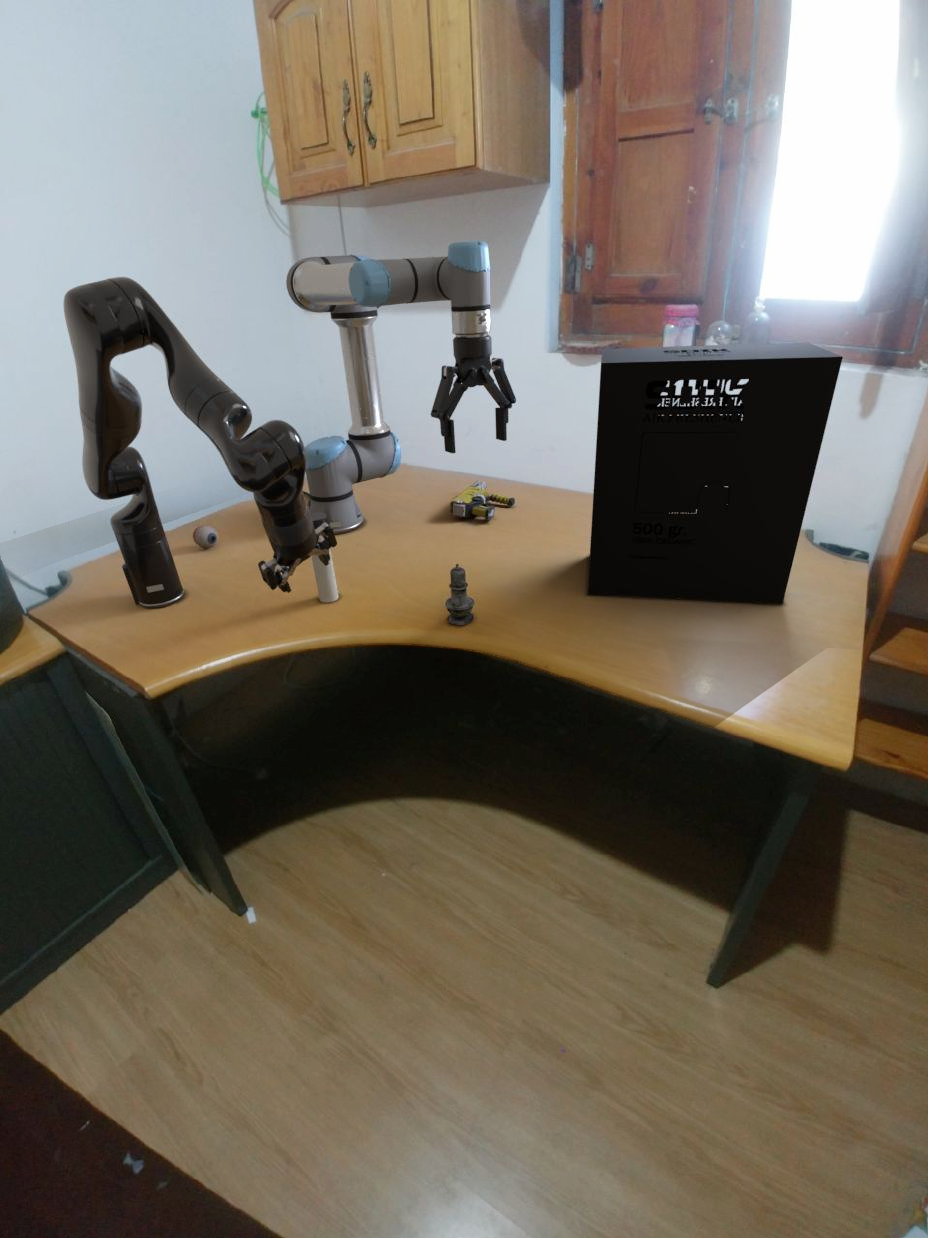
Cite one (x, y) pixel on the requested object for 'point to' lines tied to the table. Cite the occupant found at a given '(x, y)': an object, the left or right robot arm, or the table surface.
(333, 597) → the white cylinder
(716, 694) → the table surface
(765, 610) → the table surface
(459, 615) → the dark grey chess piece
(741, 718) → the table surface
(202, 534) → the eyeball
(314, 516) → the lid
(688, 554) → the cardboard box
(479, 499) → the toy gun
